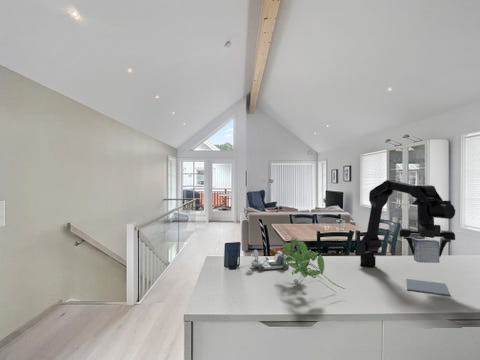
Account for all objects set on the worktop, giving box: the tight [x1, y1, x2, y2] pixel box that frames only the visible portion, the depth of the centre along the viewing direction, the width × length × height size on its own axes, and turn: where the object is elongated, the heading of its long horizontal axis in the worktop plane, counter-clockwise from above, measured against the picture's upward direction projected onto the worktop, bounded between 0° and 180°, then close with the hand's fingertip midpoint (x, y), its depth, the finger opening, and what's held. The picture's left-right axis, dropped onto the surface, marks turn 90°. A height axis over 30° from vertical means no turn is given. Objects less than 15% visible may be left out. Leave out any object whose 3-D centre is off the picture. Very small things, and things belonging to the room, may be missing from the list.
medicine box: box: [413, 238, 440, 264], centre depth 122 cm, size 8×4×9 cm, turn 84°
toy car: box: [250, 249, 290, 272], centre depth 152 cm, size 18×10×12 cm
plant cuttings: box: [282, 237, 346, 294], centre depth 124 cm, size 35×17×22 cm
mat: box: [406, 278, 451, 297], centre depth 122 cm, size 14×14×1 cm
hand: (426, 255), depth 122 cm, fingers closed on medicine box, 9 cm apart
